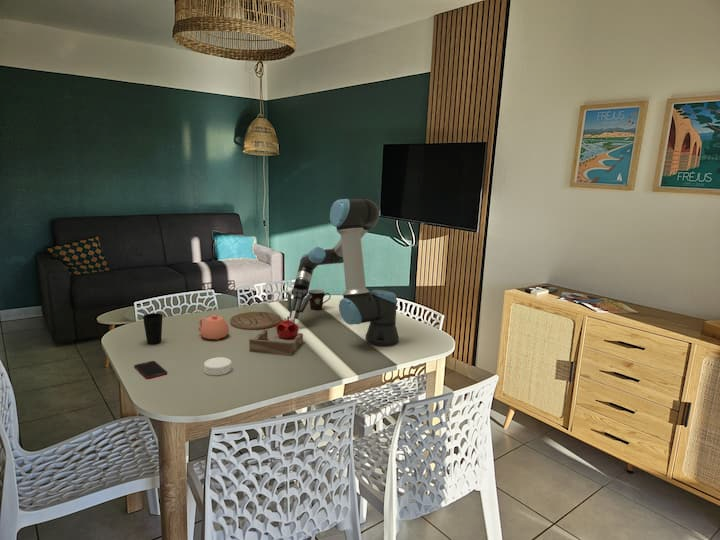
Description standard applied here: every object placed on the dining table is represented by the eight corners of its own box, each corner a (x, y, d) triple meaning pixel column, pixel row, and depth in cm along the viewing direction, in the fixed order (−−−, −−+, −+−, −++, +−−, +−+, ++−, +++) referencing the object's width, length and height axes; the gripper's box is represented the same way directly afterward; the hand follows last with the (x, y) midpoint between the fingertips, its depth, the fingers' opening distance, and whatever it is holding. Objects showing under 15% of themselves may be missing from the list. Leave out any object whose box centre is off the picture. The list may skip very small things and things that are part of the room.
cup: (166, 342, 206) (165, 316, 203) (149, 346, 200) (147, 319, 198) (159, 338, 211) (157, 312, 208) (141, 342, 205) (139, 315, 203)
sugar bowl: (220, 342, 208) (220, 320, 206) (191, 339, 210) (190, 317, 208) (233, 334, 219) (233, 312, 217) (206, 331, 222) (205, 310, 220)
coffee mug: (306, 310, 260) (306, 292, 258) (310, 306, 269) (311, 288, 267) (327, 311, 258) (327, 294, 256) (330, 307, 267) (331, 290, 265)
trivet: (270, 312, 255) (270, 309, 254) (288, 326, 234) (288, 322, 233) (224, 318, 242) (223, 315, 241) (238, 333, 221) (238, 329, 220)
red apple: (278, 332, 223) (278, 313, 222) (299, 333, 223) (299, 314, 221) (274, 339, 214) (274, 319, 212) (296, 340, 213) (296, 320, 212)
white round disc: (205, 377, 173) (205, 368, 172) (202, 367, 182) (202, 358, 181) (233, 374, 177) (233, 365, 176) (229, 363, 186) (229, 355, 185)
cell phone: (146, 380, 169) (146, 378, 169) (133, 367, 180) (133, 365, 180) (168, 375, 175) (168, 372, 174) (154, 362, 185) (154, 360, 185)
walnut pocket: (264, 338, 215) (264, 327, 214) (302, 342, 212) (302, 331, 211) (249, 351, 199) (249, 340, 198) (290, 355, 196) (290, 344, 195)
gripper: (316, 287, 240) (306, 328, 227) (291, 285, 242) (280, 326, 229) (313, 279, 234) (303, 321, 221) (288, 277, 236) (276, 319, 223)
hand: (291, 324), depth 225 cm, fingers closed
